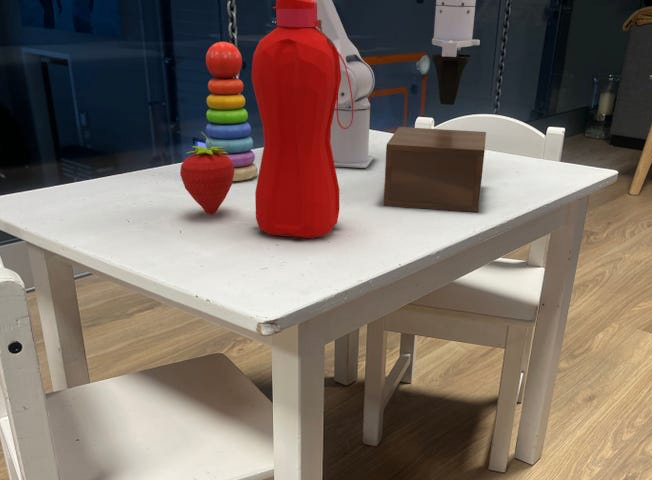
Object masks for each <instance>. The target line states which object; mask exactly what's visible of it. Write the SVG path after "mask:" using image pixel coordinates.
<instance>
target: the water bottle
mask: <svg viewBox="0 0 652 480" xmlns="http://www.w3.org/2000/svg"><path fill="white" fill-rule="evenodd" d="M272 9H276V10H275V11H276V28H274V29H273V30H272V31H270V32H269V33H268V34H266V35H265V36H264V37H263V38H261V39H260V40H259V41H258V44H257V46H256V48H255V50H254V52H253V55H252V63H251V65H252V66H251V83H252V87H253V91H254V94H255V100H256V103H257V109H258V111H259V116H260V120H261V124H262V131H263V150H262V155H261V161H260V165H259V171H258V175H257V180H256V181H257V182H256V187H255V192H254V193H255V194H254V195H255V199H254V201H255V220H256V223H257V226H258V229H259V230H261V231H262V232H264V233H266V234H268V235H270V236H283V237H293V238H294V237H295V238H301V239H302V238H303V239H315V238H321V237H324V236H326V235H327V234H328V233H330V232H331V231H332V230H333V228H334V226H336V225H337V224H338V220H339V215H340V185H339V181H338V175H337V169H336V166H335V164H334V159H333V154H332V148H331V143H330V140H331V125H332V120H333V115H334V110H335V106H336V101H337V120H338V123H339V125H340V127H341V128H343V129H347V128H349V127H350V125H351V124H352V121H353V98H352V91H351V85H350V80H349V76H348V72H347V68H346V65H345V62H344V59H343V58H342V56H341V55H340V53H339V52H338V51H337V48H336V46H335V45H334V43H333V42H332V40H331V39H330V38H328V37H327V36H326V35H325V34H324V33H323V32H322V20H318V21H317V2H315V1H312V0H275V6H273V7H272ZM316 27H318V29H320V30H318V29H317V28H316ZM339 56H340V57H341V59H342V60H343V63H344V66H345V69H346V73H347V78H348V82H349V87H350V93H351V101H352V120H351V123H350V125H349V127H347V128H344V127H342V126H341V124H340V122H339V119H338V91H339V87H340V82H341V69H340V59H339Z"/></svg>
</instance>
